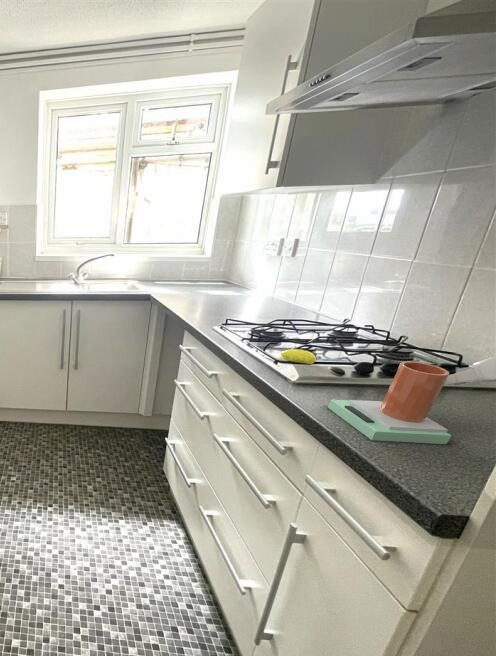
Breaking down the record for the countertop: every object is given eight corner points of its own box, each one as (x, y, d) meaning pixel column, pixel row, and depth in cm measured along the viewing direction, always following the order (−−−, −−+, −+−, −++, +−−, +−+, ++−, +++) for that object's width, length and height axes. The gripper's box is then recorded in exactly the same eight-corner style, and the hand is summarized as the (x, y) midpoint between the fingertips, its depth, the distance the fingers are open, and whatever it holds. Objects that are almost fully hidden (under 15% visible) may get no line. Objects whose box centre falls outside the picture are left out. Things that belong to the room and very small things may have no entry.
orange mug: (390, 403, 86) (411, 359, 82) (431, 418, 81) (456, 371, 77) (372, 410, 84) (393, 364, 80) (413, 425, 79) (438, 377, 74)
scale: (391, 412, 89) (397, 399, 88) (445, 446, 78) (453, 432, 76) (326, 409, 90) (331, 396, 89) (370, 442, 79) (377, 428, 78)
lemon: (314, 368, 111) (319, 354, 109) (278, 362, 115) (283, 348, 113) (313, 363, 114) (318, 349, 112) (278, 357, 118) (282, 344, 116)
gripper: (550, 344, 81) (449, 368, 91) (547, 336, 69) (431, 365, 80) (567, 374, 79) (462, 395, 90) (567, 372, 67) (446, 396, 78)
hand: (447, 381), depth 85 cm, fingers open, 8 cm apart
